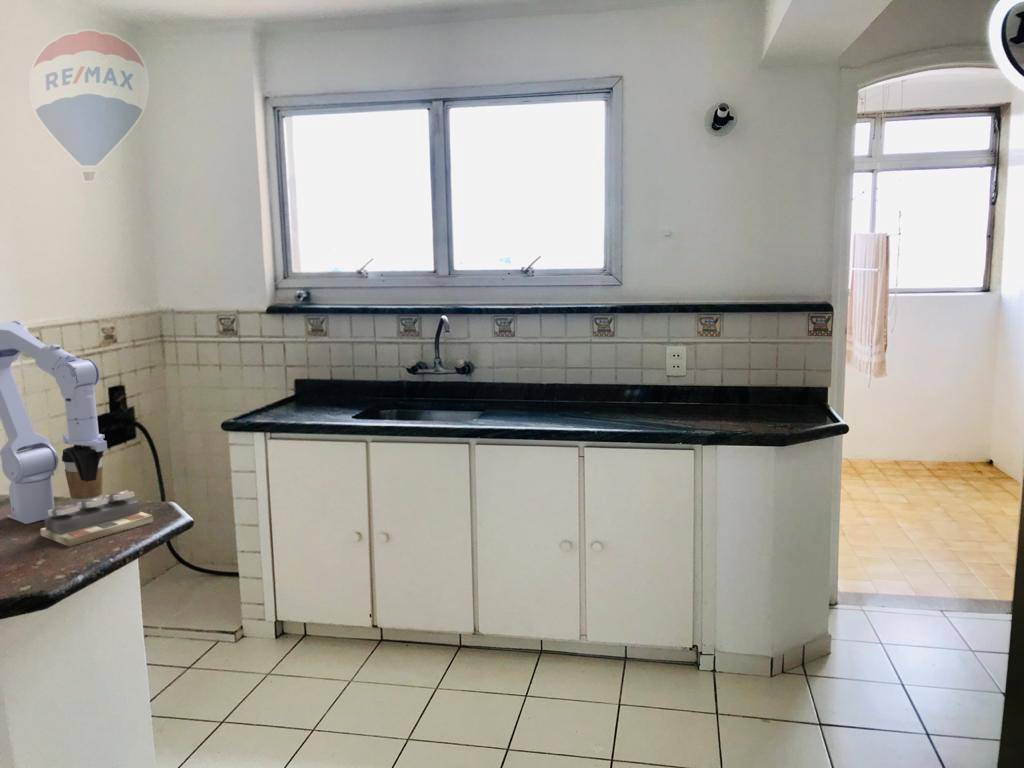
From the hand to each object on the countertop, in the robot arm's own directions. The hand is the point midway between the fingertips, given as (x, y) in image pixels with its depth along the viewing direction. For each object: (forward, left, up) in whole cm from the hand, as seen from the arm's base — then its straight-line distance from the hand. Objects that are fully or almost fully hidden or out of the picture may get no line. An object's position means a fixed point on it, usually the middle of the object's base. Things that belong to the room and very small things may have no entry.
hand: (88, 480), depth 175 cm
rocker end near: (0, -6, -5) cm, 8 cm away
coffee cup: (-13, +6, -11) cm, 18 cm away
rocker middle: (0, 0, -5) cm, 5 cm away
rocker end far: (0, +6, -5) cm, 8 cm away
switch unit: (+2, 0, -10) cm, 11 cm away
